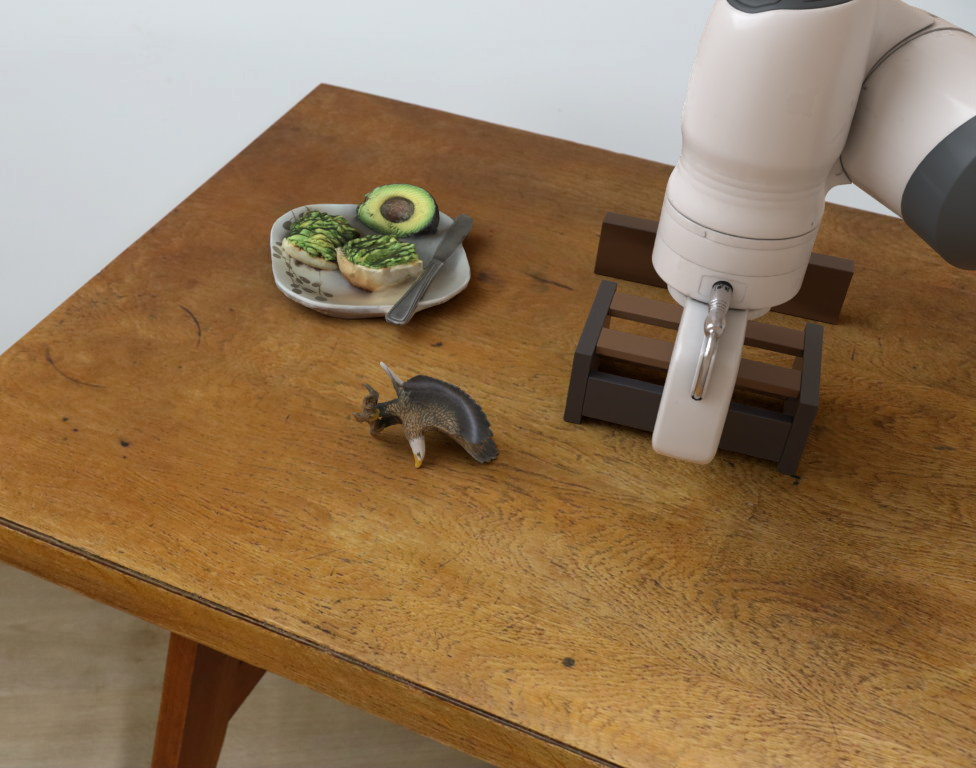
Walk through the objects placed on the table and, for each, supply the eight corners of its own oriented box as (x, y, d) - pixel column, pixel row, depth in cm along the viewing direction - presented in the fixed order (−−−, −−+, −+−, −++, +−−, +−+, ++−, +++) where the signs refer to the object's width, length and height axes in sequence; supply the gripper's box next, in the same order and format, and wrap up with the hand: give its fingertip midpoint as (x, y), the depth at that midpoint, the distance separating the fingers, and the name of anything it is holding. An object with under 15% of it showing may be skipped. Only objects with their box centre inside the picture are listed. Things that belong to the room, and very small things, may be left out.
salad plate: (500, 340, 86) (506, 290, 83) (269, 344, 84) (267, 293, 82) (466, 218, 101) (470, 172, 99) (269, 219, 100) (268, 172, 97)
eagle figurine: (354, 476, 71) (494, 473, 70) (348, 366, 71) (488, 359, 69) (378, 460, 79) (504, 456, 77) (372, 360, 78) (499, 354, 77)
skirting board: (598, 262, 96) (607, 210, 93) (836, 312, 91) (854, 260, 88) (593, 273, 95) (602, 221, 92) (836, 324, 90) (854, 272, 87)
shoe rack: (590, 344, 86) (601, 279, 83) (801, 391, 83) (823, 325, 79) (562, 420, 79) (574, 351, 75) (794, 476, 75) (818, 407, 71)
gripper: (774, 353, 57) (715, 543, 65) (795, 183, 72) (746, 354, 81) (651, 326, 58) (609, 515, 67) (698, 165, 74) (659, 335, 82)
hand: (684, 426), depth 74 cm, fingers closed
